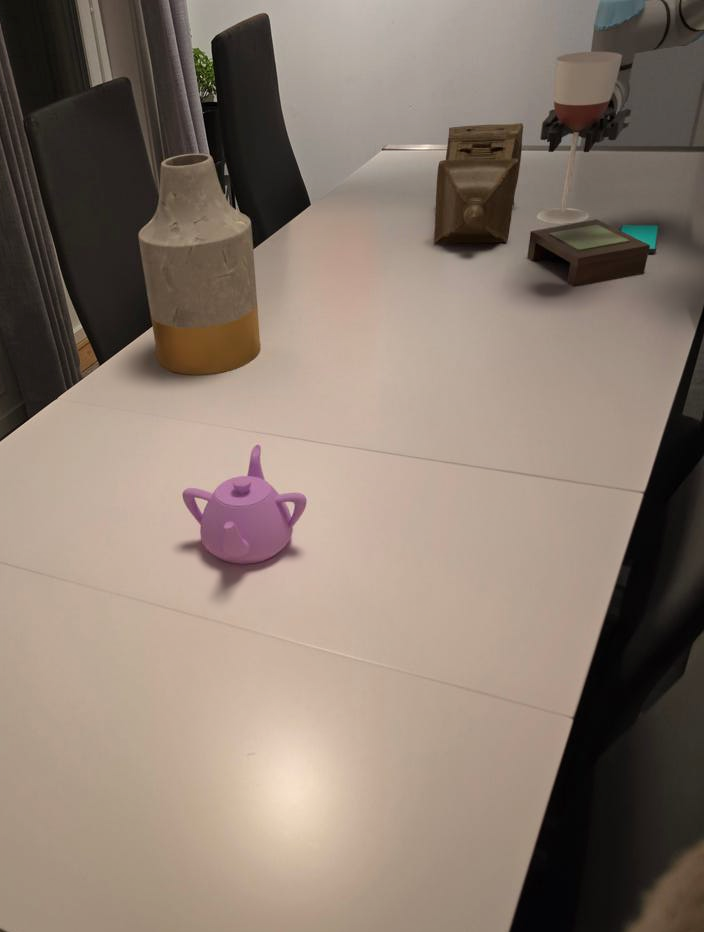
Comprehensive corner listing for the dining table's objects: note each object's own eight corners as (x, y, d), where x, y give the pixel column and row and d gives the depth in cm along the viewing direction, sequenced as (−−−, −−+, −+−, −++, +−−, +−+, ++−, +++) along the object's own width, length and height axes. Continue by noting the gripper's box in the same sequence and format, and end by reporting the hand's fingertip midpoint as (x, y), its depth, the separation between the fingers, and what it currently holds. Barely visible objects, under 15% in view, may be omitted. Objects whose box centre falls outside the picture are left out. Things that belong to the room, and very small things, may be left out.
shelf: (643, 273, 155) (650, 243, 152) (573, 286, 154) (578, 257, 150) (591, 245, 168) (597, 218, 165) (526, 257, 167) (530, 229, 164)
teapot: (262, 502, 110) (258, 442, 104) (319, 553, 101) (317, 490, 95) (182, 532, 107) (172, 472, 101) (232, 588, 97) (225, 525, 91)
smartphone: (659, 224, 171) (656, 249, 161) (658, 229, 171) (655, 253, 161) (620, 224, 173) (615, 248, 163) (619, 228, 174) (614, 252, 164)
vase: (163, 382, 141) (132, 183, 121) (153, 340, 155) (123, 156, 134) (269, 364, 142) (256, 164, 122) (250, 325, 156) (235, 139, 135)
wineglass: (561, 228, 141) (589, 65, 126) (522, 214, 148) (543, 59, 133) (604, 216, 143) (636, 55, 128) (563, 203, 150) (588, 49, 135)
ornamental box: (504, 272, 170) (529, 172, 156) (417, 260, 173) (435, 161, 160) (511, 215, 193) (534, 124, 180) (434, 206, 196) (451, 116, 183)
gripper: (644, 133, 148) (623, 169, 133) (540, 133, 155) (510, 167, 140) (654, 83, 143) (634, 114, 128) (546, 86, 150) (516, 116, 135)
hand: (569, 142), depth 134 cm, fingers closed on wineglass, 5 cm apart
